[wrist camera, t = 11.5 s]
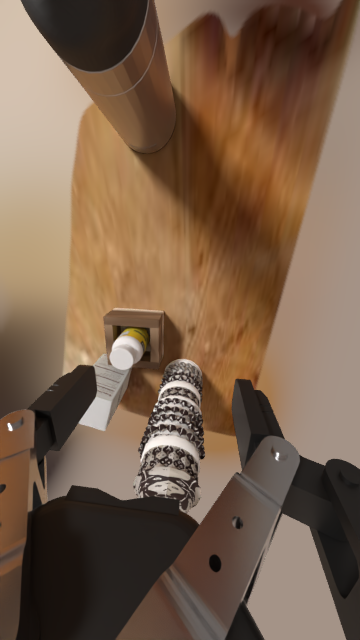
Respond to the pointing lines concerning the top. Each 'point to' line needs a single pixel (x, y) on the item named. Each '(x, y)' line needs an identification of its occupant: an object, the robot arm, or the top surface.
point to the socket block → (150, 319)
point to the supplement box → (106, 394)
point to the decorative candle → (174, 438)
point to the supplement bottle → (129, 347)
